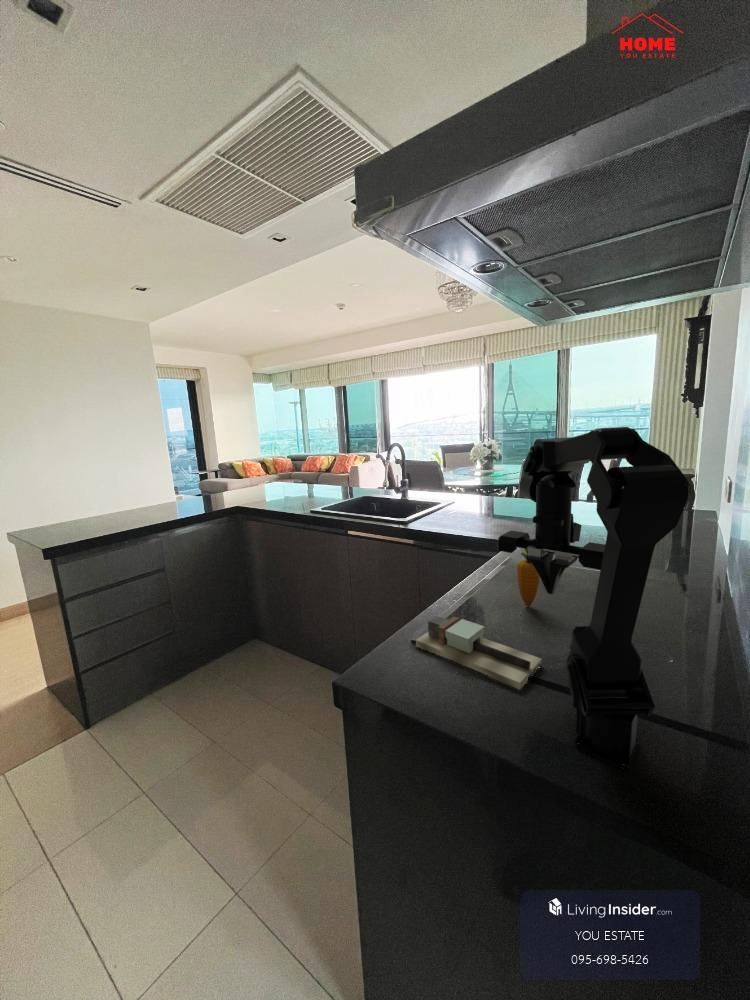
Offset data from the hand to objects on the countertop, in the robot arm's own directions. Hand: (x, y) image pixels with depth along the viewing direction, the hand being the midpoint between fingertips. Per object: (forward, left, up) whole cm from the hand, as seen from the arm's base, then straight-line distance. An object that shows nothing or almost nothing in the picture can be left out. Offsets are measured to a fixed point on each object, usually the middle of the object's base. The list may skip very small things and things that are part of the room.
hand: (550, 593), depth 75 cm
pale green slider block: (+13, +8, -11) cm, 19 cm away
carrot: (+12, -18, -13) cm, 25 cm away
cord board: (+11, +8, -13) cm, 19 cm away
